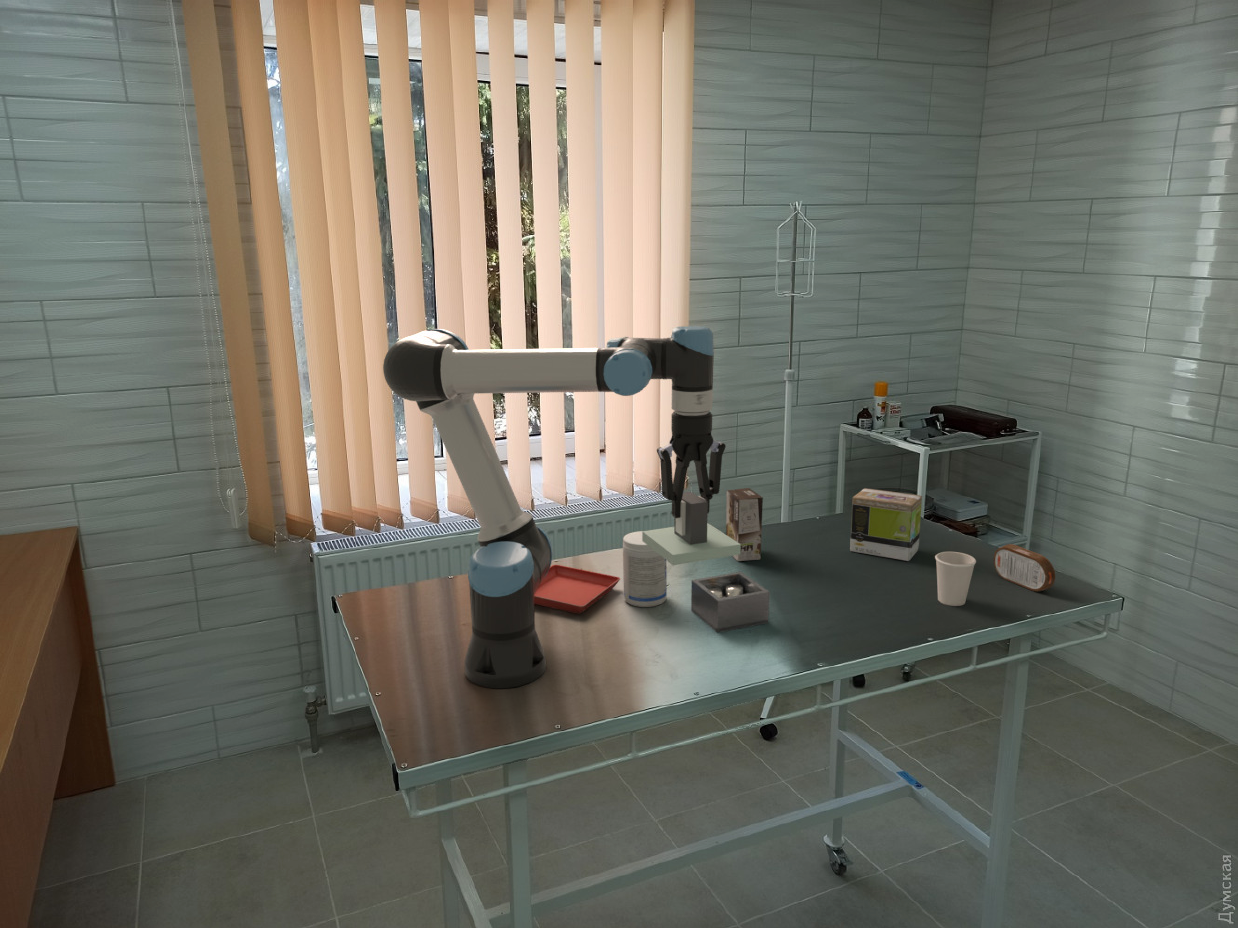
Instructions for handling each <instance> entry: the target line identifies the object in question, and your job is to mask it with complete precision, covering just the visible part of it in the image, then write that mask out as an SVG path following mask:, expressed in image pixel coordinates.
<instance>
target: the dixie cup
mask: <svg viewBox="0 0 1238 928" xmlns="http://www.w3.org/2000/svg"><path fill="white" fill-rule="evenodd" d="M934 559H935V561H936V562H935V563H936V581H937V583H936V585H937V587H936V588H937V601H939V602H940V603H941V604H943V605H946V606H952V607H958V606H959V607H960V606H963V605H965V604H966V600H967V596H968V593H969V588H970V584H971V579H972V576H973V572H974V567H975V565H976V563H977V560H976V558H975V557H974V556H972V555H970V554H967V553H964V552H957V551H942V552H939V553H937V554H935V556H934Z"/></svg>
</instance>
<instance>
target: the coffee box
mask: <svg viewBox="0 0 1238 928" xmlns="http://www.w3.org/2000/svg"><path fill="white" fill-rule="evenodd" d="M763 501H764V498H763V497H762V496H761V495H760V494H758V493H757V492H755V491H754V490H753V489H752V488H750V487H748V488H747V487H746V488H737V489H728V490H726V512H725V514H726V516H725V521H726V522H725V528H726V529H725V535H727V536H728V537H730V538H732V539H733V540H735V541H736V542H738V543H739V544H741V551H740V555H733V556H732V557H733V558H734V559H735V560H736V562H742V561H743V562H745V561H755V560H756V561H757V560H761V558H762V557H761V556H762V555H761V552H762V530H763V529H762V527H763V525H762V524H763V503H764V502H763Z"/></svg>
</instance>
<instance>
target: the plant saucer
mask: <svg viewBox="0 0 1238 928" xmlns="http://www.w3.org/2000/svg"><path fill="white" fill-rule="evenodd" d="M620 580H621V578H620V577H619V576H615V575H611V574H604V573H601V572H597V571H596V572H595V571H590V570H587V569H586V570H585V569H580V568H577V567H571V566H566V565H560V564H553V565H552V564H551V566H550V569H549V571H548V573H547V574H546V576H545V577H544V578H543V580H542V582H541V584H540V585H539V587H538V589H537V591H536V592H535V595H534V605H538V606H540V607H541V606H542V607H546V608H551V609H556V610H560V611H564V612H569V613H573V614H582V613H583V612H585V611H586V610H587V609H589V608H590V607H591V606H592V605H594V604H595V603H597V602H598V601H599V600H600V599H601V598H603V597H605V595H607V594H608V593H609V592H611V591H612V590H613V589H614V588H615V587H616V586H617V585H618V582H620Z"/></svg>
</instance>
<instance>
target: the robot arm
mask: <svg viewBox="0 0 1238 928" xmlns="http://www.w3.org/2000/svg"><path fill="white" fill-rule="evenodd" d="M605 346H606V347H572V348H571V347H570V348H568V347H567V348H522V349H521V348H520V349H519V348H517V349H516V348H514V349H511V348H510V349H508V348H507V349H505V348H504V349H503V348H502V349H469V347H468V345H467V344H466V343H465V341H464V340H463V339H462V338H461V337H460V336H459V335H457V334H456V333H454V332H452V331H450V330H448V329H442V328H428V329H426V330H421V331H420V332H418V333H416V334H415V333H414V334H413V335H410V336H407V337H403V338H402V339H399V340H398V341H396V342H395V343H394V344H392V346H390V348H389V349H388V351H387V352H386V354H385V356H384V359H383V363H382V366H383V367H382V371H383V378H384V380H385V382H386V384H387V386H388V387H389V389H390V390H391V391H392V392H393V393H394V394H396V395H397V396H398V397H400V398H402V399H404V400H407V401H411V402H416V404H417V407H418V409H419V410H420V412H422V413H423V414H424V413H425V414H427V415H429V416H431V418H432V420H433V423H434V425H435V428H436V430H437V432H438V435H439V437H440V438H441V439H440V440H441V441H442V443H443V445H444V448H445V450H446V452H447V455H448V456H449V458H450V461H451V463H452V465H453V467H454V470H455V472H456V475H457V476H458V479H459V481H460V483H461V486H462V488H463V491H464V493H465V495H466V497H467V499H468V501H469V504H470V506H471V509H472V510H473V513H474V515H475V517H476V521H478V524H479V526H480V530H479V532H478V534H477V541H478V543H479V546H480V547H479V548H478V549H476V550H475V551H474V552H473V553H472V555H471V556H470V558H469V562H468V570H467V575H468V576H467V579H468V582H469V584H468V585H469V598H470V601H469V602H470V615H471V616H470V617H471V630H472V631H471V637H470V641H469V643H468V647H467V650H466V654H465V658H464V674H465V677H466V678H467V679H468V680H469V682H471V683H473V684H475V685H477V686H481V687H484V688H489V689H510V688H515V687H517V688H518V687H520V686H524V685H528V684H529V683H532V682H534V681H535V680H537V679H538V678H539V679H540V677H541V676H542V675H543V674H544V672H545V671H546V668H547V667H546V666H547V665H546V653H545V651H544V648H543V646H542V643H541V641H540V637H539V635H538V633H537V630H536V624H535V621H536V620H535V619H536V618H535V617H536V616H535V604H534V595H535V592H536V591H537V589H538V587H539V585H540V584H541V582H542V580H543V578H544V577H545V576H546V574H547V573H548V571H549V569H550V567H551V566H552V561H553V554H554V552H553V544H552V541H551V539H550V537H549V535H548V533H546V531H545V530H543V528H541V527H539V526H537V524H536V522H535V519H534V517H533V515H532V514H531V513H529V512H527V511H525V510H522V509H521V506H520V504H519V502H518V499H517V497H516V494H515V493H514V491H513V488H512V486H511V483H510V481H509V478H508V477H507V474H506V471H505V470H504V467H503V465H502V462H501V460H500V458H499V456H498V453H497V450H496V449H495V447H494V444H493V441H492V439H491V437H490V435H489V432H488V429H487V427H486V425H485V423H484V420H483V419H482V416H481V414H480V411H479V409H478V407H477V405H476V403H475V400H474V397H475V394H525V393H526V394H529V393H530V394H532V393H535V394H537V393H538V394H540V393H541V394H542V393H591V392H593V393H596V392H597V393H598V392H599V393H615V394H616V395H618V396H622V397H624V396H625V397H630V396H633V395H636V394H638V393H640V392H642V391H643V390H644V389H645V388H646V387H647V386H648V384H649V383H650V381H651V380H671V410H673V411H672V413H671V426H670V427H671V429H670V430H671V437H670V440H669V444H667V445H665V446H663V447H661V446H659V447H657V449H656V452H657V455H658V458H659V459H660V461H659V463H660V476H661V477H660V478H661V479H660V480H661V494H662V495H661V496H662V497H663V498H665V499H667V500H668V501H671V515H672V517H673V518H674V517H675V518H676V532H677V533H679V534H680V535H685V516H686V502H684V501H683V500H682V497H683V493H684V491H685V484H686V479H687V475H688V474H687V473H688V469H689V467H690V464H691V462H693V463H694V465H695V472H696V479H697V485H698V486H697V487H698V491H699V495H698V496H699V497H701V498H702V499H704V500H706V501H707V502H708V514H710V506H711V505H710V500H712V499H713V497H714V495H719V493H720V486H721V475H722V474H721V473H722V464H723V463H722V461H723V454H724V452H725V450H726V444H725V443H724V442H722V441H719V440H714V437H713V436H712V431H713V413H712V412H711V410H713V399H714V398H713V392H714V391H713V389H714V388H713V387H714V384H713V383H714V357H715V355H714V354H715V352H714V333H713V331H712V329H710V328H709V327H706V326H701V325H700V326H699V325H686V326H685V325H683V326H681V325H680V326H677V327H673V329H672V332H671V336H670V337H664V338H660V337H659V338H658V337H657V338H653V337H629V336H623V337H613V338H610V339H609V340H608V341H607V343H606V345H605ZM709 450H710V454H709V455H710V456H709V457H710V458H709V469H708V468H707V467H708V466H707V465H708V459H707V453H708V452H709ZM672 452H674V454H675V456H676V457H675V470H674V475H673V464H672V457H673V453H672Z"/></svg>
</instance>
